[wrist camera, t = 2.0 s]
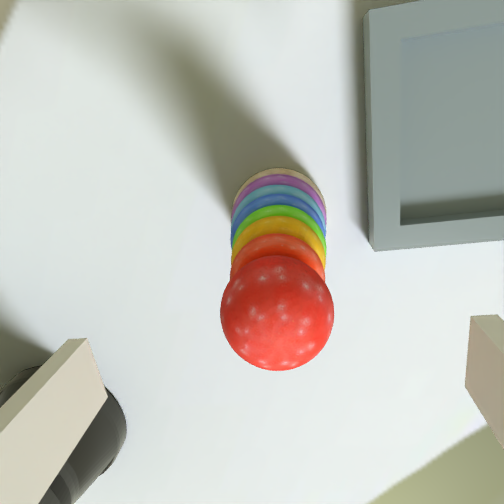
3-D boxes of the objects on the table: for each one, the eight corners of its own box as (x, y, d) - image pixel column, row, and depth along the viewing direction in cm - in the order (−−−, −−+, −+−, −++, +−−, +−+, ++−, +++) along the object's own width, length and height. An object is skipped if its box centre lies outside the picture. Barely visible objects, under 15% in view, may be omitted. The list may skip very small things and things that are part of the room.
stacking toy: (238, 257, 33) (181, 418, 16) (228, 170, 30) (145, 248, 13) (326, 253, 32) (367, 419, 15) (324, 162, 29) (371, 235, 12)
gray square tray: (368, 242, 31) (374, 251, 29) (362, 18, 25) (369, 9, 23) (587, 222, 29) (609, 230, 27) (636, -32, 23) (669, -46, 21)
